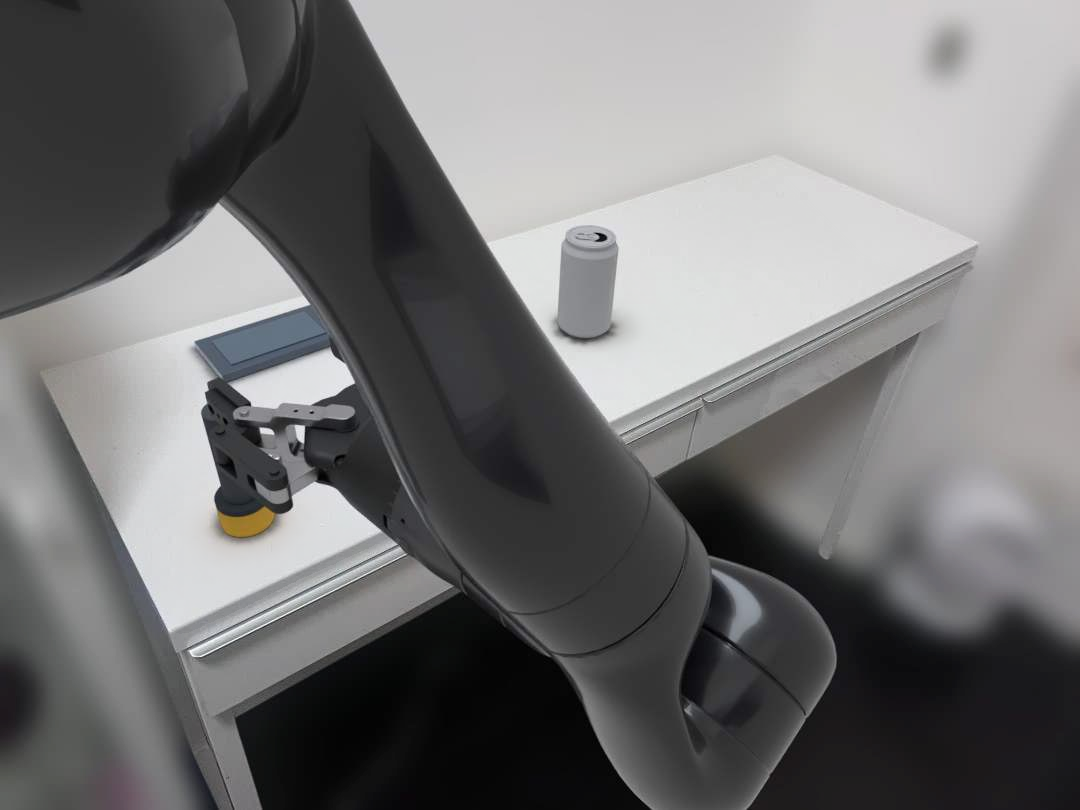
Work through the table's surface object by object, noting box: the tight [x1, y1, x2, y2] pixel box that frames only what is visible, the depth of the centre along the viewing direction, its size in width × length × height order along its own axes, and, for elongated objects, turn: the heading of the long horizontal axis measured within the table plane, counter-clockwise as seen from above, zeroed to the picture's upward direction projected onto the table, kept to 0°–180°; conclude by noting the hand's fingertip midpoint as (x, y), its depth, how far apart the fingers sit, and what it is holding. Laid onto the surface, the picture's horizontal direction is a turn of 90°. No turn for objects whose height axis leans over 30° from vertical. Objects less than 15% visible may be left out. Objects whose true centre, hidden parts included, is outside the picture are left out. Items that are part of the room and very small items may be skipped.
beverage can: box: [556, 224, 620, 339], centre depth 93 cm, size 6×6×12 cm
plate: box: [193, 304, 331, 383], centre depth 90 cm, size 14×8×1 cm, turn 129°
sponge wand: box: [200, 403, 275, 538], centre depth 66 cm, size 4×4×12 cm
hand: (277, 363), depth 51 cm, fingers open, 8 cm apart
